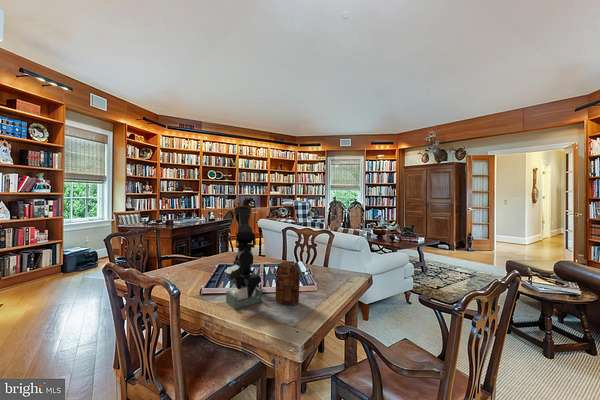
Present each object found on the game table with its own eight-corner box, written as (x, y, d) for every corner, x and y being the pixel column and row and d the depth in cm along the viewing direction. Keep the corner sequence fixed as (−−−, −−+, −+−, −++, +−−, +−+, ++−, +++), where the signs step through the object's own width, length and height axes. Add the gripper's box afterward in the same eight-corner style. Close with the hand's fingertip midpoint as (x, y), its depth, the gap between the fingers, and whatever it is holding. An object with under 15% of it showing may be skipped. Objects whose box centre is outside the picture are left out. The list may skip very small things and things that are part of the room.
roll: (250, 295, 131) (250, 284, 130) (255, 298, 127) (255, 287, 126) (231, 300, 125) (231, 289, 124) (236, 304, 121) (236, 292, 121)
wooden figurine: (271, 302, 126) (272, 262, 124) (276, 297, 132) (277, 258, 130) (296, 307, 122) (298, 265, 121) (301, 301, 128) (302, 261, 127)
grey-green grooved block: (252, 295, 133) (252, 284, 133) (261, 301, 127) (261, 290, 127) (226, 302, 125) (226, 291, 124) (234, 309, 119) (234, 297, 118)
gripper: (217, 256, 127) (217, 291, 128) (237, 267, 112) (237, 306, 113) (240, 253, 134) (240, 286, 135) (262, 262, 119) (261, 299, 120)
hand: (244, 294), depth 126 cm, fingers open, 9 cm apart
